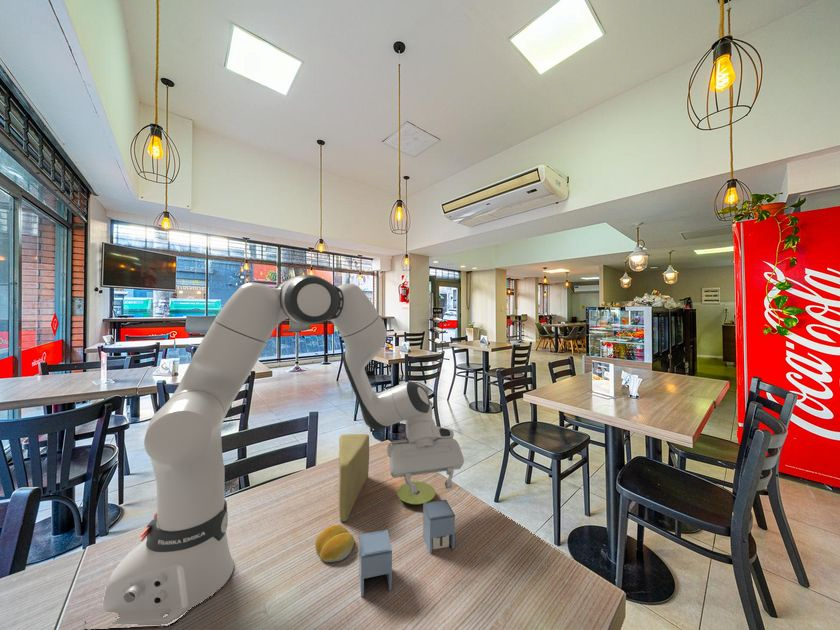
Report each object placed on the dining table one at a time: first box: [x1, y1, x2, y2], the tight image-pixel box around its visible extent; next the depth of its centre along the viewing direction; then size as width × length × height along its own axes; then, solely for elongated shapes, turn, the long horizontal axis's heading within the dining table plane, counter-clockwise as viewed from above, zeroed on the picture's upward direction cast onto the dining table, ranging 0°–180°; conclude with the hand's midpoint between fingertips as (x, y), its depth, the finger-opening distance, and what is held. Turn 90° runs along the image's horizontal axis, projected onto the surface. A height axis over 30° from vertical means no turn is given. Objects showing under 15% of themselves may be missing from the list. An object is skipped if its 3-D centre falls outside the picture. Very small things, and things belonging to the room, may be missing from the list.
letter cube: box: [432, 535, 450, 551], centre depth 75 cm, size 4×4×4 cm
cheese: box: [338, 433, 370, 522], centre depth 92 cm, size 22×10×15 cm, turn 4°
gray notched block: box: [358, 529, 393, 598], centre depth 64 cm, size 6×6×8 cm
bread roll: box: [314, 524, 355, 563], centre depth 72 cm, size 8×9×4 cm
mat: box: [396, 481, 436, 505], centre depth 92 cm, size 11×11×2 cm
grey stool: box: [422, 499, 456, 555], centre depth 75 cm, size 6×6×8 cm
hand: (432, 490), depth 80 cm, fingers open, 8 cm apart
